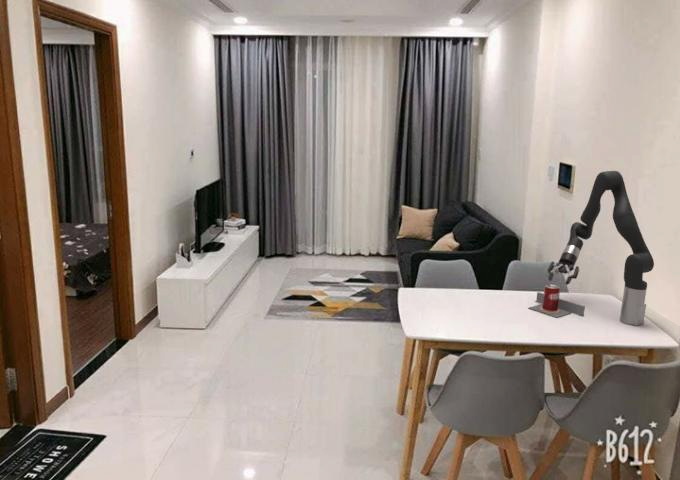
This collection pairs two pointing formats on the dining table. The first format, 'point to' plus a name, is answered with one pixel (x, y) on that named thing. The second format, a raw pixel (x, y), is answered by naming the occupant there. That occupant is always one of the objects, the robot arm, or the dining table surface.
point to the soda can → (551, 298)
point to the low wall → (565, 305)
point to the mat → (554, 314)
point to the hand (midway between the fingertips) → (558, 281)
